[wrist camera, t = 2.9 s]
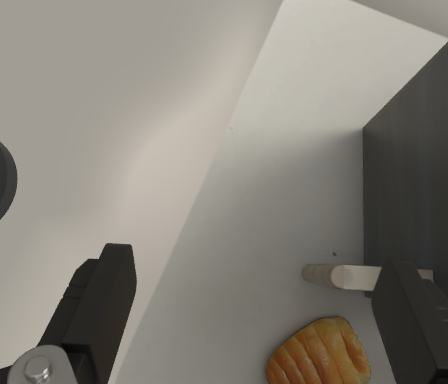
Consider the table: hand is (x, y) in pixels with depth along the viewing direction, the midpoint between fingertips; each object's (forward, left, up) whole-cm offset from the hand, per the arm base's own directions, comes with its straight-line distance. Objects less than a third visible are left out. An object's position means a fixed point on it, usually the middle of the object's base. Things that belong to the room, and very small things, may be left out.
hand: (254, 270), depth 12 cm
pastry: (-3, -11, -27) cm, 29 cm away
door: (+11, -5, -26) cm, 29 cm away
